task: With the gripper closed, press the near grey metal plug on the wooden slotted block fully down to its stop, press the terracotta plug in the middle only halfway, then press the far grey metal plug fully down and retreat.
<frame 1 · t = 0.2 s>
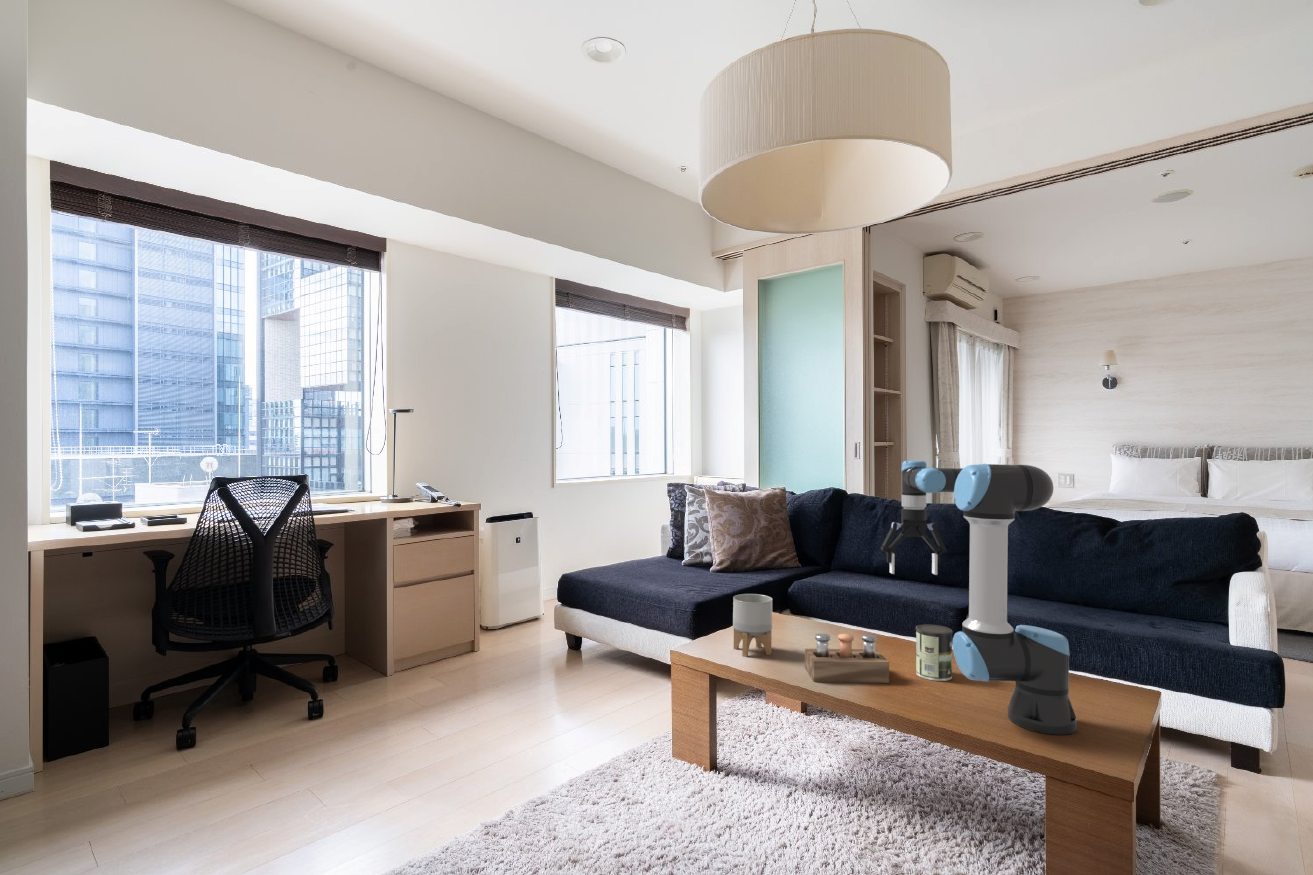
hand: (913, 573, 218), 28 cm above the table, fingers open, 13 cm apart
coffee can: (933, 675, 202), on the table
far grey plug: (822, 647, 202), point 8 cm above the table, slide at 0.0 cm
wooden slotted block: (845, 674, 202), on the table
near grey plug: (869, 648, 202), point 8 cm above the table, slide at 0.0 cm
planter: (752, 652, 224), on the table
terracotta plug: (845, 647, 202), point 8 cm above the table, slide at 0.0 cm
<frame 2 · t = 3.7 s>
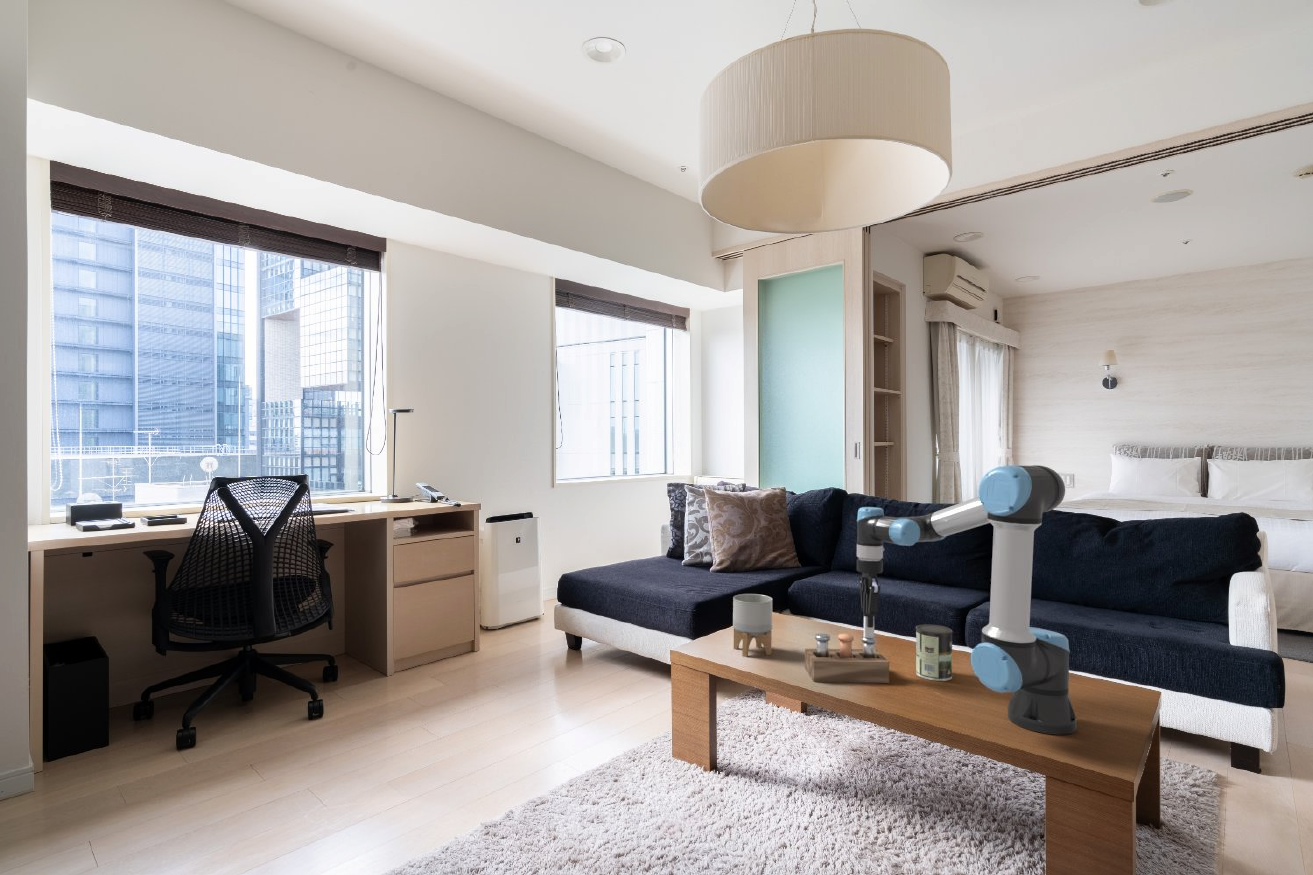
hand: (868, 636, 202), 11 cm above the table, fingers closed
near grey plug: (869, 650, 202), point 8 cm above the table, slide at 0.6 cm, touching gripper
everything else where it was.
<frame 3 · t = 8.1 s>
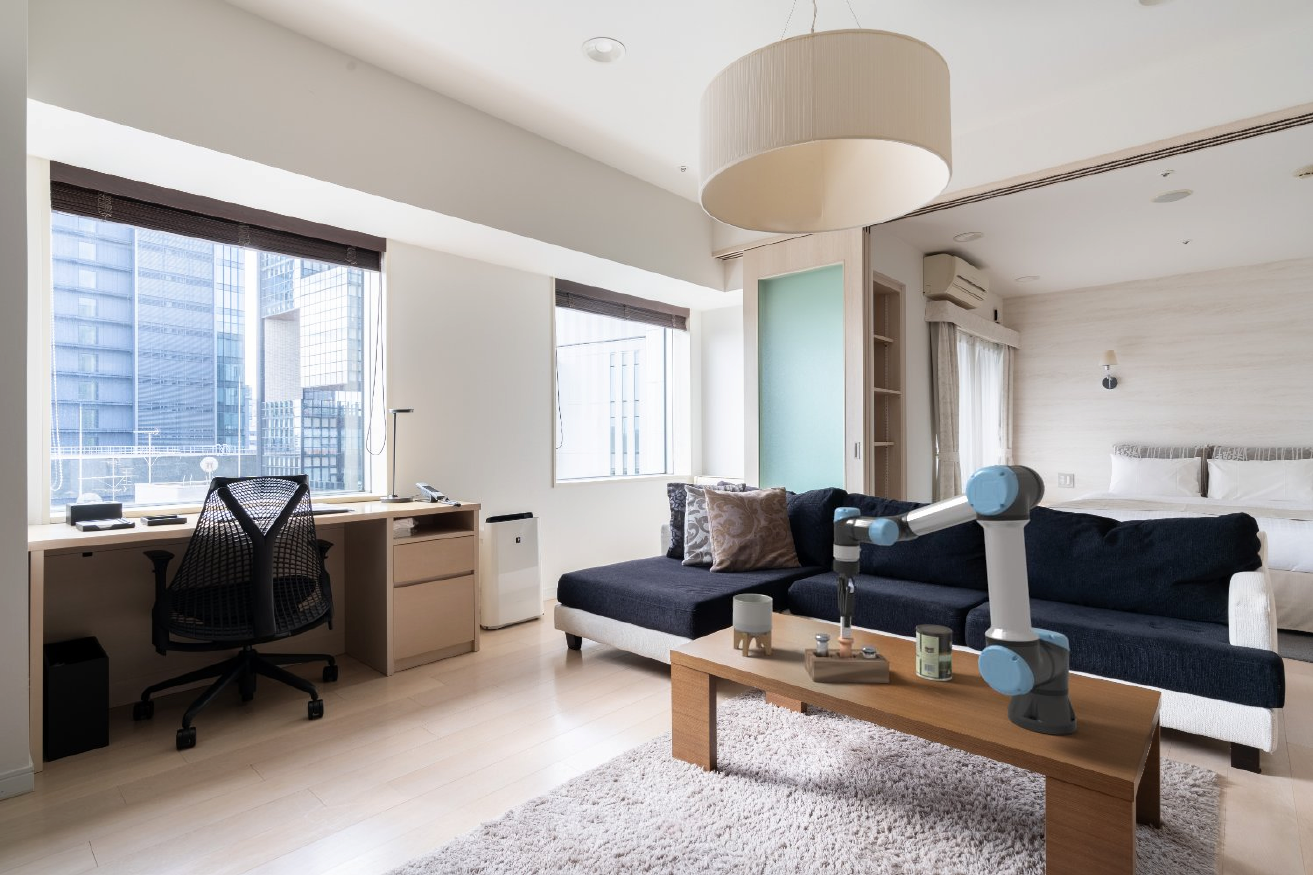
hand: (845, 637, 202), 11 cm above the table, fingers closed
near grey plug: (869, 659, 202), point 5 cm above the table, slide at 3.5 cm
terracotta plug: (845, 650, 202), point 7 cm above the table, slide at 0.7 cm, touching gripper
everything else where it was.
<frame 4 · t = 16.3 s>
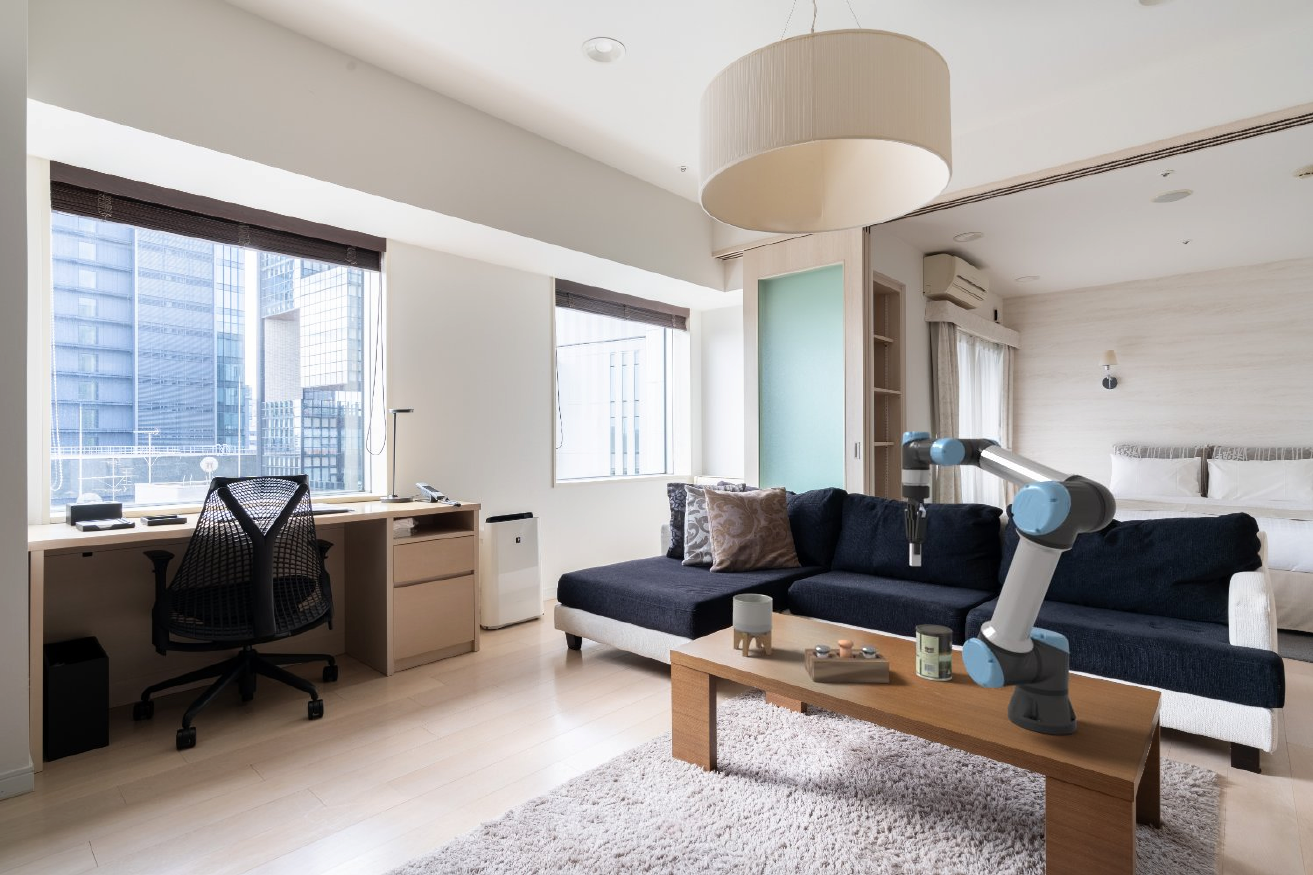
hand: (915, 565, 195), 34 cm above the table, fingers closed
far grey plug: (822, 659, 202), point 5 cm above the table, slide at 3.5 cm
terracotta plug: (845, 653, 202), point 6 cm above the table, slide at 1.7 cm
everything else where it was.
at the end: near grey plug slide at 3.5 cm; far grey plug slide at 3.5 cm; terracotta plug slide at 1.7 cm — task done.
